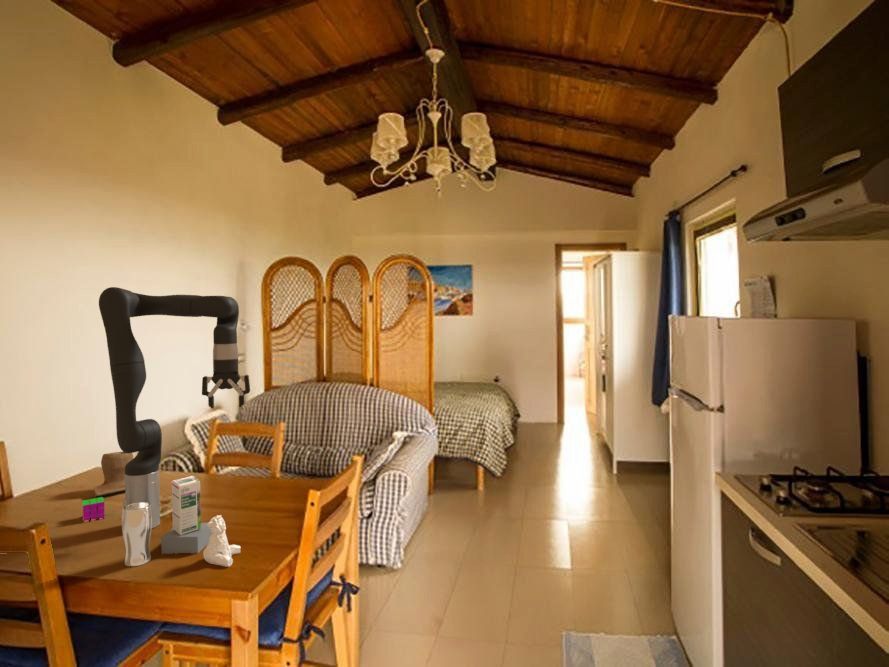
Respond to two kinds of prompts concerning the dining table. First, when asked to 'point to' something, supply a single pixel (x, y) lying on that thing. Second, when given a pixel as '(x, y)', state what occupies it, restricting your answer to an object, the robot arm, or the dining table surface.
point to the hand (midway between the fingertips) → (226, 407)
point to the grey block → (185, 541)
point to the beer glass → (137, 532)
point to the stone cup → (113, 473)
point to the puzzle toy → (93, 508)
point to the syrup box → (186, 505)
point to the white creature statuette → (219, 544)
